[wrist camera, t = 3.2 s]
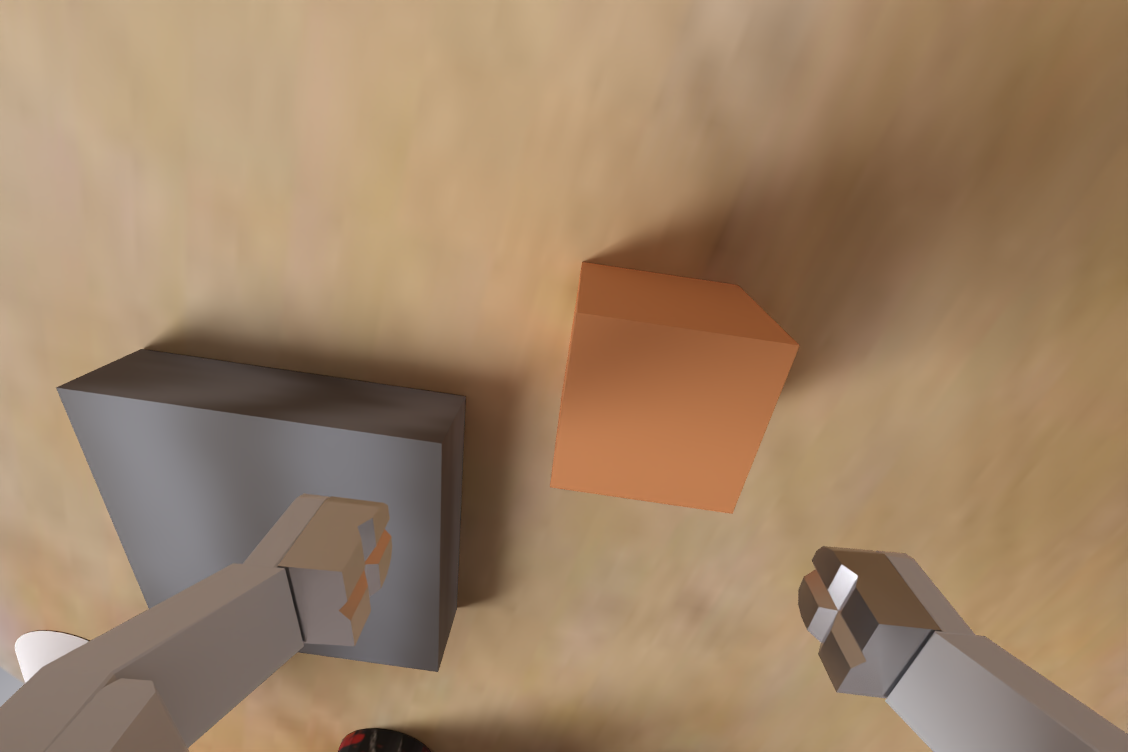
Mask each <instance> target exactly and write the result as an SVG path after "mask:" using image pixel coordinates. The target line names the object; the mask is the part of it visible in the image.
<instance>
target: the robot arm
mask: <svg viewBox="0 0 1128 752" xmlns="http://www.w3.org/2000/svg"><path fill="white" fill-rule="evenodd" d="M389 519H390V516H389V509H388V505H387V504H385V503H382V502H374V501H366V500H357V499H349V498H341V497H333V496H331V497H328V496H320V495H313V494H305V493H304V494H303V495H301V496H299V497H297V498H296V499H295V500H294V501H293V502H292V504H291V505H290V506H289V507H288V508H287V510H286V511H285V512H284V513H283V515H282V516H281V517H280V518H279V520H278V521H277V522H276V523H275V524H274V526H273V527H272V528H271V529H270V531H269V532H268V533H267V534H266V535H265V537H264V538H263V539H262V540H261V542H260V543H259V544H258V545H257V547H256V548H255V549H254V550H253V551H252V553H251V554H250V555H249V556H248V558H247V559H246V560H245V561H244V562H243V564H237V563H233V564H231V565H229V566H227V567H225V568H224V569H222V570H220V571H218V572H216V573H214V574H213V575H211V576H209V577H207V578H205V579H203V580H202V581H200V582H198V583H196V584H194V585H192V586H190V587H189V588H187V589H185V590H183V591H181V592H179V593H178V594H176V595H174V596H172V597H170V598H168V599H166V600H165V601H163V602H161V603H159V604H157V605H155V606H154V607H152V608H150V609H148V610H146V611H144V612H143V613H141V614H139V615H137V616H135V617H133V618H131V619H130V620H128V621H126V622H124V623H122V624H120V625H119V626H117V627H115V628H113V629H111V630H109V631H108V632H106V633H104V634H102V635H100V636H98V637H96V638H95V639H93V640H91V641H89V642H87V643H85V644H84V645H82V646H80V647H78V648H76V649H74V650H72V651H71V652H69V653H67V654H65V655H63V656H61V657H60V658H58V659H56V660H54V661H52V662H50V663H49V664H47V665H45V666H43V667H42V668H41V669H40V670H39V671H37V672H36V673H35V674H34V675H33V676H32V677H31V678H30V679H29V680H28V681H27V682H26V683H25V684H24V685H23V686H22V687H21V688H20V689H19V690H18V691H17V692H16V693H15V694H14V695H13V696H12V697H11V698H10V699H9V700H7V701H6V702H5V703H4V704H3V705H2V706H1V707H0V752H189V750H188V747H190V746H191V745H192V744H193V743H194V742H195V741H196V740H198V739H199V738H200V737H201V736H202V735H203V734H204V733H206V732H207V731H208V730H209V729H210V728H211V727H212V726H214V725H215V724H216V723H217V722H218V721H219V720H220V719H222V718H223V717H224V716H225V715H226V714H227V713H228V712H230V711H231V710H232V709H233V708H234V707H235V706H236V705H238V704H239V703H240V702H241V701H242V700H243V699H244V698H246V697H247V696H248V695H249V694H250V693H251V692H252V691H254V690H255V689H256V688H257V687H258V686H259V685H260V684H262V683H263V682H264V681H265V680H266V679H267V678H268V677H270V676H271V675H272V674H273V673H274V672H275V671H276V670H278V669H279V668H280V667H281V666H282V665H283V664H284V663H286V662H287V661H288V660H289V659H290V658H291V657H292V656H293V655H295V654H296V653H297V652H298V651H299V650H300V649H301V648H303V647H304V643H310V644H325V645H341V646H355V645H356V643H357V640H358V638H359V636H360V634H361V632H362V629H363V627H364V625H365V623H366V621H367V619H368V616H369V614H370V612H371V606H370V598H369V597H370V596H372V595H373V594H374V593H376V592H377V591H378V590H380V589H381V588H382V585H383V583H384V581H385V578H386V576H387V573H388V569H389V565H390V561H391V556H392V536H391V535H390V534H389V533H388V532H387V531H386V530H385V527H386V525H387V523H388V521H389ZM812 562H813V564H814V567H815V569H816V570H814V571H812V572H811V573H809V574H808V575H806V576H804V578H803V580H802V582H801V585H800V587H799V590H798V605H799V609H800V613H801V617H802V619H803V622H804V624H805V626H806V628H807V630H808V631H809V632H810V633H811V634H812V635H813V636H814V637H816V638H817V639H818V640H819V641H820V642H821V645H820V649H819V653H818V654H819V656H820V658H821V661H822V663H823V665H824V667H825V669H826V671H827V673H828V675H829V678H830V680H831V682H832V684H833V686H834V688H835V690H836V692H839V693H847V694H855V695H863V696H871V697H880V698H887V699H886V700H885V701H886V702H887V703H888V704H889V705H890V707H891V708H892V709H893V710H894V711H895V712H896V713H897V714H898V715H899V716H900V717H901V718H902V719H903V720H904V721H905V722H906V723H907V724H908V725H909V726H910V727H911V729H912V730H913V731H914V732H915V733H916V734H917V735H918V736H919V737H920V738H921V739H922V740H923V741H924V742H925V743H926V744H927V745H928V746H929V747H930V748H931V750H932V751H933V752H1128V734H1127V733H1125V732H1124V731H1122V730H1121V729H1119V728H1118V727H1116V726H1115V725H1114V724H1112V723H1111V722H1109V721H1108V720H1106V719H1105V718H1103V717H1102V716H1100V715H1099V714H1097V713H1096V712H1095V711H1093V710H1092V709H1090V708H1089V707H1087V706H1086V705H1084V704H1083V703H1081V702H1080V701H1079V700H1077V699H1076V698H1074V697H1073V696H1071V695H1070V694H1068V693H1067V692H1065V691H1064V690H1062V689H1061V688H1060V687H1058V686H1057V685H1055V684H1054V683H1052V682H1051V681H1049V680H1048V679H1046V678H1045V677H1043V676H1042V675H1041V674H1039V673H1038V672H1036V671H1035V670H1033V669H1032V668H1030V667H1029V666H1027V665H1026V664H1024V663H1023V662H1022V661H1020V660H1019V659H1017V658H1016V657H1014V656H1013V655H1011V654H1010V653H1008V652H1007V651H1006V650H1004V649H1003V648H1001V647H1000V646H998V645H997V644H995V643H994V642H992V641H991V640H989V639H988V638H987V637H985V636H979V635H975V634H974V633H973V631H972V630H971V629H970V628H969V626H968V625H967V624H966V623H965V622H964V620H963V619H962V618H961V617H960V615H959V614H958V613H957V612H956V610H955V609H954V608H953V607H952V605H951V604H950V603H949V602H948V601H947V599H946V598H945V597H944V596H943V594H942V593H941V592H940V591H939V589H938V588H937V587H936V586H935V584H934V583H933V582H932V581H931V580H930V578H929V577H928V576H927V575H926V573H925V572H924V571H923V570H922V568H921V567H920V566H919V565H918V563H917V562H916V561H915V560H914V559H913V558H911V557H910V556H908V555H907V554H905V553H896V552H885V551H872V550H861V549H850V548H838V547H827V546H823V547H821V548H820V549H818V550H817V551H816V553H815V555H814V557H813V559H812Z"/></svg>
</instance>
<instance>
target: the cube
mask: <svg viewBox="0 0 1128 752" xmlns="http://www.w3.org/2000/svg"><path fill="white" fill-rule="evenodd" d="M799 346H800V345H799V344H798V343H797V342H796V341H795V340H793V339H792V338H791V337H790V336H789V335H788V334H787V333H786V332H785V331H784V330H783V329H782V328H781V327H780V326H779V325H778V324H777V323H776V322H775V321H774V320H773V319H772V318H771V317H770V316H769V315H768V314H767V313H766V312H765V311H764V310H763V309H762V308H761V307H760V306H759V305H758V304H757V303H756V302H755V301H754V300H753V299H752V298H751V297H750V296H749V295H748V294H747V293H746V292H745V291H744V290H743V289H742V288H741V287H740V286H738V285H734V284H728V283H721V282H714V281H707V280H701V279H694V278H687V277H681V276H674V275H667V274H660V273H654V272H647V271H640V270H634V269H627V268H620V267H614V266H607V265H600V264H593V263H587V262H582V266H581V273H580V280H579V286H578V293H577V299H576V306H575V312H574V319H573V326H572V332H571V339H570V345H569V352H568V358H567V365H566V372H565V378H564V385H563V391H562V398H561V406H560V413H559V421H558V429H557V436H556V444H555V452H554V460H553V467H552V475H551V483H550V487H552V488H559V489H566V490H573V491H580V492H587V493H594V494H601V495H607V496H614V497H621V498H628V499H635V500H642V501H649V502H656V503H663V504H669V505H676V506H683V507H690V508H697V509H704V510H711V511H718V512H725V513H731V514H732V513H733V511H734V508H735V506H736V503H737V501H738V498H739V496H740V493H741V491H742V488H743V486H744V483H745V481H746V478H747V476H748V473H749V471H750V468H751V466H752V463H753V461H754V458H755V456H756V453H757V451H758V448H759V446H760V443H761V441H762V438H763V436H764V433H765V431H766V428H767V426H768V423H769V421H770V418H771V416H772V413H773V411H774V408H775V406H776V403H777V401H778V398H779V396H780V393H781V391H782V388H783V386H784V383H785V381H786V378H787V376H788V373H789V371H790V368H791V366H792V363H793V361H794V358H795V356H796V353H797V351H798V348H799Z"/></svg>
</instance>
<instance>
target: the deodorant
mask: <svg viewBox="0 0 1128 752" xmlns="http://www.w3.org/2000/svg"><path fill="white" fill-rule="evenodd" d="M338 752H431V751H430V750H429V749H428V748H427V747H426V746H425V745H424V744H422V743H421V742H419V741H418V740H416V739H415V738H412V737H410V736H408V735H405V734H403V733H399V732H395V731H391V730H384V729H363V730H358V731H355V732H352V733H350V734H348V735H347V736H346V737H345V738H344V739H343V740H342V743H341V745H340V747H339V750H338Z"/></svg>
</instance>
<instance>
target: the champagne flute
mask: <svg viewBox="0 0 1128 752" xmlns="http://www.w3.org/2000/svg"><path fill="white" fill-rule="evenodd" d="M87 642H89V641H87V640H84V639H82V638H79V637H76V636H73V635H69V634H65V633H60V632H53V631H35V632H29V633H26V634H24V635H22V636H21V637H19V638H18V639H17V641H16V643H15V652H16V655H17V658H18V661H19V664H20V668H21V671H22V674H23V677H24V681H25V683H26V682H27V681H28V680H29V679H30V678H31V677H32V676H33V675H34V674H35V673H36V672H37V671H39V670H40V669H41V668H42V667H43V666H45V665H47V664H49V663H50V662H52V661H54V660H56V659H58V658H60V657H61V656H63V655H65V654H67V653H69V652H71V651H72V650H74V649H76V648H78V647H80V646H82V645H84V644H85V643H87Z"/></svg>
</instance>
